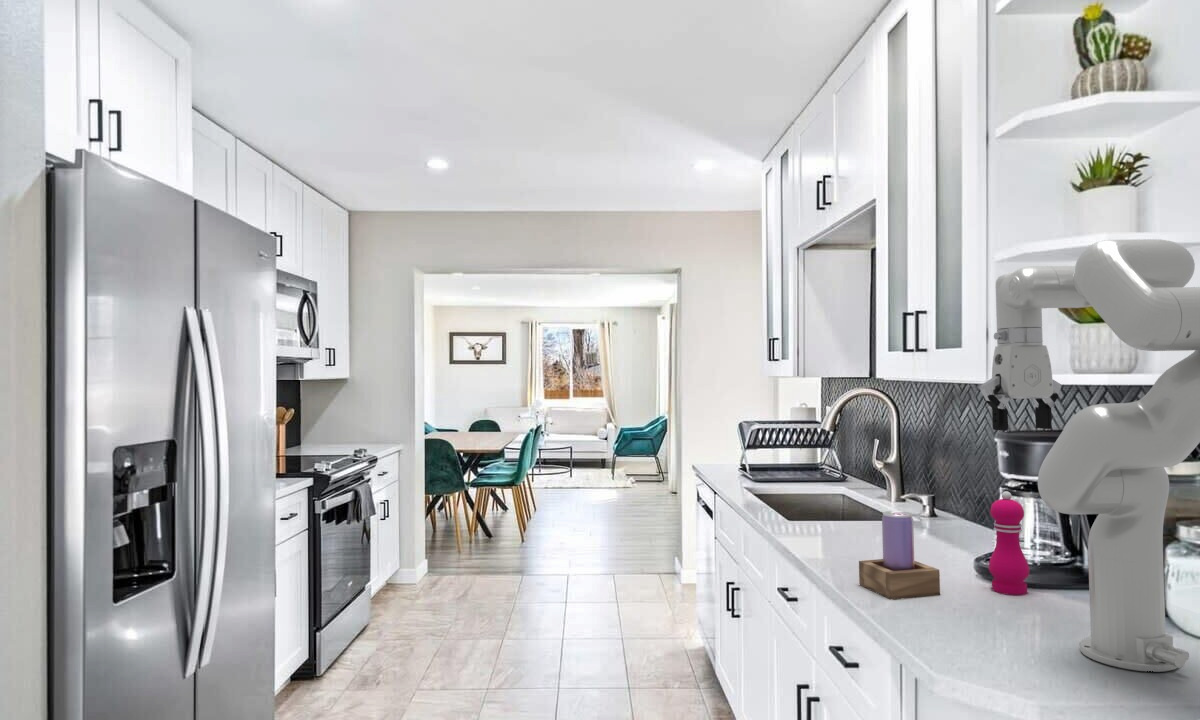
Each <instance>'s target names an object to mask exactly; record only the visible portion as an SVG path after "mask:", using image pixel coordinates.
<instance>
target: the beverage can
mask: <svg viewBox="0 0 1200 720" xmlns="http://www.w3.org/2000/svg"><path fill="white" fill-rule="evenodd" d="M881 531H882V532H881V534H882V536H881V537H882V539H881V540H882V559H883V567H884V568H886V569H889V570H891V571H901V570H913V569H915V566H914V561H915V535H914V534H915V533H914V518H913V513H911V512H909V511H901V510H889V511H888V510H887V511H884V512H882V516H881Z"/></svg>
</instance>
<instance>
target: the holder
mask: <svg viewBox="0 0 1200 720" xmlns="http://www.w3.org/2000/svg"><path fill="white" fill-rule="evenodd" d="M914 566H915V569H913V570H901V571H891V570H889V569H886V568H884V567H883V558H880V559H879V558H877V559H869V560H858V578H859V579H858V582H859V584H860V585H859V584H858V585H859V586H861V585H862V586H861V587H863V586H864V587H863V588H865V587H866V588H865V589H867V588H868V589H867V590H869V589H871V590H873V591H872V592H874V591H875V592H874V593H876V592H877V593H876V594H878V593H879V595H880V594H881V595H880V596H882V595H883V597H884V596H885V597H884V598H887V599H889V600H891V599H894V600H902V599H901V598H904V599H912V598H913V597H914V598H922V597H923V598H924V597H934V596H941V585H940V583H941V579H940V569H939V568H935V567H934V566H930V565H928V564H925V563H922V562H920V561H916V560H914ZM871 590H870V591H871Z"/></svg>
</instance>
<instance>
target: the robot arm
mask: <svg viewBox="0 0 1200 720" xmlns="http://www.w3.org/2000/svg"><path fill="white" fill-rule="evenodd" d="M1195 264H1196V263H1195V260H1194V258H1193V255H1192V254H1191V252H1190V251H1189V250H1188V249H1187V248H1186V247H1184V246H1183V245H1181V244H1179V243H1177V242H1174V241H1171V240H1166V239H1157V238H1155V239H1152V238H1147V239H1146V238H1145V239H1144V238H1143V239H1142V238H1141V239H1138V238H1137V239H1106V240H1105V239H1104V240H1099V241H1097V242H1094V243H1092V244H1091V245H1088V247H1086V248H1085V249H1084V250H1083V251H1082V252H1081V253H1080V254H1079V256H1078V258H1077V260H1076V264H1075V265H1049V266H1048V265H1047V266H1046V265H1045V266H1039V265H1038V266H1025V267H1022V268H1021V267H1020V268H1019V269H1018V268H1017V270H1015V271H1014V272H1012V273H1005V274H1002V275H1001V274H1000V275H999V276H998V277H997V279H996V280H995V309H996V311H995V312H996V314H995V316H996V332H994V334H993V339H994V340H995V341H997V343H996V344H997V346H995V348H994V351H993V356H992V358H993V359H992V367H991V378H990V379H988V380H987V381H985V382H984V383H982V384H981V385H979V390H980V392H981V394H982V396H983V400H984V401H985V402H986V404H987V405H988V408H989V409H991V413H992V414H991V415H992V417H991V418H992V421H991V422H992V429H993V431H994V430H995V431H1001V432H1002V431H1003V432H1005V431H1006V432H1007V431H1008V430H1009V413H1008V412H1009V411H1008V409H1007V408H1005V407H1006V406H1007V405H1008V404H1009V402H1010V400H1011V399H1018V400H1019V399H1020V400H1021V399H1022V400H1023V399H1032V400H1033V401H1034V403H1035V404H1036V405H1037V406H1035V408H1034V414H1035V416H1034V418H1035V427H1036V429H1043V430H1051V429H1052V428H1053V426H1052V425H1053V424H1052V422H1053V421H1052V419H1053V418H1052V409H1053V408H1054V407H1055V402H1056V401H1057V400H1059V393H1060V392H1061V389H1062V384H1061V383H1060V382H1058V381H1057V380H1055V379H1053V372H1052V364H1051V359H1050V355H1049V351H1048V347H1047V345H1043V344H1044V343H1043V342H1044V341H1043V313H1042V311H1043V310H1042V309H1058V308H1059V309H1079V308H1080V309H1081V308H1090V307H1092V308H1093V309H1094V311H1095V312H1096V313H1097V314H1098V315H1099V316H1100V318H1101V319H1102V320H1103V321H1104V323H1105V324H1106V325H1107V326H1108V327H1109V328H1110V329H1111V331H1112V332H1113V333H1114V334H1115V336H1117V337H1118V338H1119V339H1120V340H1121V341H1122V342H1123V344H1125V345H1127V346H1129V347H1131V348H1134V349H1136V350H1139V351H1147V352H1148V351H1149V352H1165V351H1166V352H1169V351H1171V352H1174V351H1175V352H1176V351H1178V352H1179V351H1180V352H1181V351H1186V352H1187V351H1188V352H1189V351H1194V352H1191V354H1189V355H1188V356H1187V357H1186V356H1185V358H1183V359H1182V360H1179V361H1178V362H1176V363H1175V364H1173V365H1171V366H1170V367H1169V368H1168V369H1166V370H1164V372H1163V373H1162V374H1161V375H1160V376H1158V378H1157V379H1156V381H1155V382H1154V384H1153V385H1152V387H1150V389H1149V390H1148V392H1147V393H1146V394H1145V395H1144V396H1143V397H1142V398H1140V399H1138V400H1136V401H1131V402H1123V403H1121V402H1119V403H1114V402H1113V403H1100V404H1097V403H1096V404H1092V405H1088V406H1087V407H1084V408H1082V409H1081V410H1079V411H1077V412H1076V413H1075V414H1074V415H1073V416H1072V417H1071V418H1070V419H1069V420H1068V422H1067V424H1066V425H1065V427H1064V428H1063V430H1062V431H1061V432H1060V434H1059V436H1058V437H1057V438H1056V441H1055V442H1054V443H1053V445H1052V446H1051V448H1050V450H1049V451H1048V452H1047V454H1046V456H1045V458H1044V460H1043V461H1042V464H1041V465H1040V468H1039V471H1038V475H1037V476H1038V477H1037V489H1038V493H1039V496H1040V498H1041V500H1042V501H1043V502H1044V504H1045V505H1046V506H1047V507H1048V508H1050V509H1051V510H1053V511H1055V512H1057V513H1061V514H1064V515H1065V514H1066V515H1096V518H1095V519H1094V522H1093V524H1092V526H1091V528H1090V530H1089V533H1088V539H1087V556H1088V557H1087V558H1088V561H1087V562H1088V588H1089V618H1090V619H1089V620H1090V622H1089V623H1090V636H1088V637H1084V638H1082V639H1081V640H1080V641H1079V651H1080V652H1081V653H1082V654H1083V655H1084V656H1086V657H1088V658H1089V659H1092V660H1094V661H1096V662H1098V663H1101V664H1104V665H1108V666H1110V667H1111V666H1112V667H1115V668H1119V669H1123V670H1124V669H1125V670H1131V671H1137V672H1138V671H1139V672H1147V671H1148V672H1149V671H1151V672H1152V671H1153V672H1152V673H1160V672H1163V673H1164V672H1170V671H1171V672H1172V671H1174V670H1176V669H1178V668H1182V667H1184V666H1185V663H1186V661H1188V660H1189V659H1190V653H1189V652H1188V651H1186V650H1183V649H1180V648H1176V647H1174V644H1173V643H1174V640H1173V639H1174V637H1173V635H1170V634H1167V632H1166V609H1165V608H1166V607H1165V606H1166V605H1165V582H1164V581H1165V580H1164V578H1165V577H1164V576H1165V575H1164V543H1163V542H1164V540H1163V539H1164V536H1163V534H1164V521H1165V514H1166V508H1167V503H1168V498H1169V493H1170V480H1169V479H1170V478H1169V475H1168V472H1167V470H1166V468H1171V467H1174V466H1177V465H1179V464H1181V463H1182V462H1184V461H1185V460H1186V459H1187V458H1188V456H1189V455H1190V454H1192V453H1193V451H1194V450H1195V449H1196V447H1197V446H1198V445H1199V444H1200V286H1196V287H1195V286H1186V285H1187V284H1188V283H1190V281H1191V279H1192V277H1193V275H1194V274H1195V270H1196V269H1195V266H1196V265H1195ZM1151 672H1149V673H1151Z"/></svg>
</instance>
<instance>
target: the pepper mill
mask: <svg viewBox="0 0 1200 720" xmlns="http://www.w3.org/2000/svg"><path fill="white" fill-rule="evenodd" d="M1012 497H1013V496H1012V493H1011V492H1009V491H1003V492H1002V493H1001V499H997V500H995V501H994V502H993V503H992V504H991V506H990V511H989V512H990V516H991V517H992V518H993V520H994V521H995V522H993V530H994V531H995V532H996V543H995V547H994V550H993V552H992V554H991V556H990V557H989V562H988V571H989V573H990V575H992V577H993V579H992V580H991V589H992V590H993V592H996V593H999V594H1003V595H1007V596H1008V595H1009V596H1023V595H1026V594H1027V593H1028V583H1026V582H1025V580H1026V579H1027V578H1028V576H1029V575H1030V566H1029V564H1028V561H1027V559H1026V557H1025V555H1024V552H1023V550H1022V548H1021V545H1020V543H1021V542H1020V533H1021V532H1022V531H1023V529H1022V524H1021V523H1020V522H1021V521H1022V520H1023V519H1024V517H1025V510H1024V507H1023V506H1022V505H1021V503H1020V502H1018V501H1017V500H1014V499H1012Z"/></svg>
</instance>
